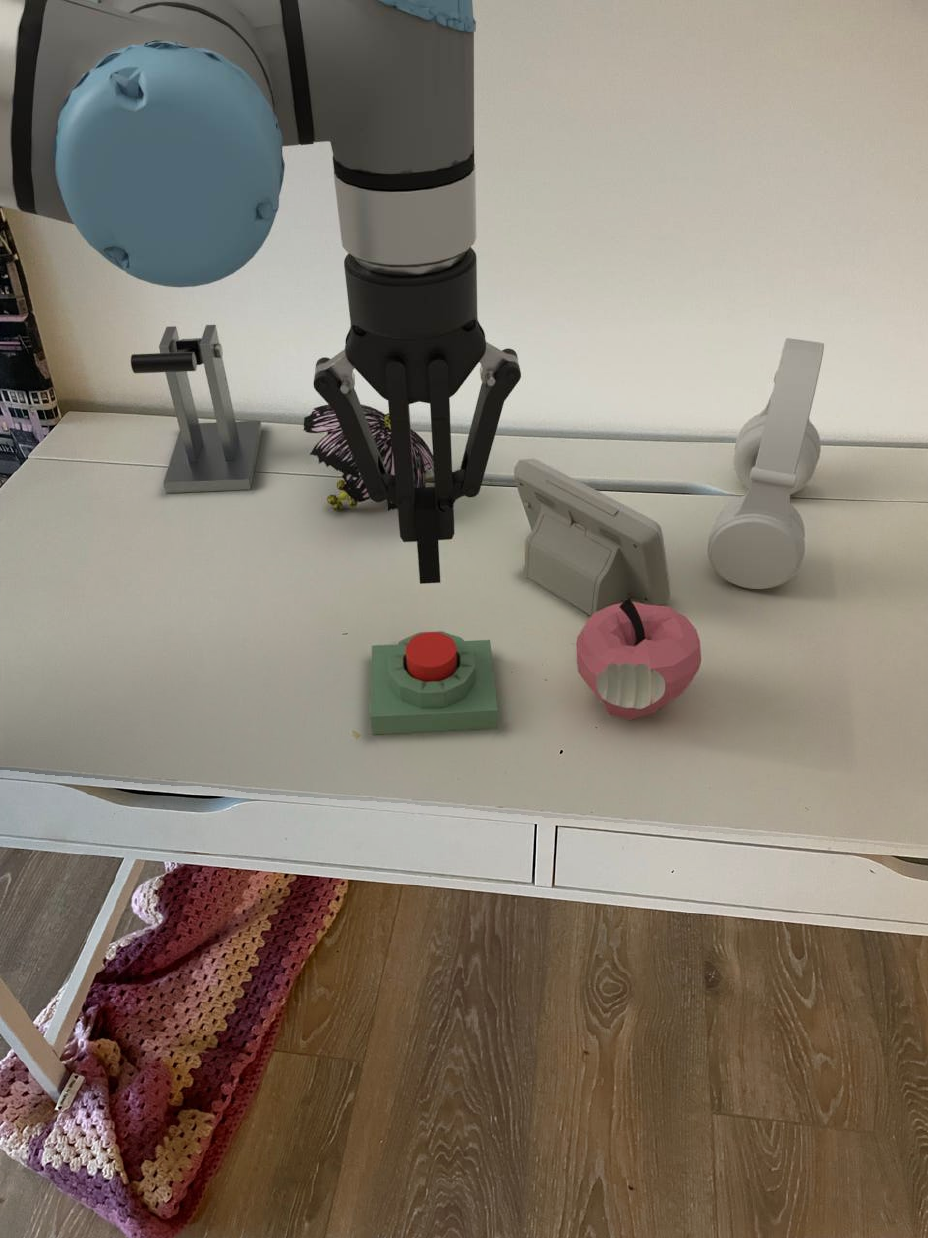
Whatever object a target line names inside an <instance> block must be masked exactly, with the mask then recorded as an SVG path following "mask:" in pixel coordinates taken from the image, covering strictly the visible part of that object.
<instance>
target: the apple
mask: <svg viewBox="0 0 928 1238" xmlns="http://www.w3.org/2000/svg"><path fill="white" fill-rule="evenodd" d="M575 647H576V651H575V652H576V666H577V672H578V673H579V675H580V677H581V678H582V679H583V681H584V682H585V684H586V685H587V686H588V687H589V688H590V690H591V691H592V692H593V693H594V695H595V696H596V697H597V698H598V700H599V701H600V703H601V704H602V705H603V707H604V708H605V710H606V712H607V713H608V715H610V716H612V717H613V716H614V717H616V718H620V719H624V720H629V721H631V720H633V719H636V718H640V717H642V716H649V715H653V714H654V713H656V712H657V711H659V710H660V709H661V708H662V707H665V705H667V704H669V703H671V702H673V701H675V700H676V699H677V698H678V697H680V696H681V695H682V694H684V692H685V691H686V690H687V689H688V687H689V686H690V684H691V682H693V680H694V678H695V677H696V675H697V673H698V672H699V670H700V666H701V664H702V652H701V651H702V650H701V641H700V637H699V634H698V631H697V629H696V627H695V626H694V625H693V623H692V622H691V621H690V620H689V618H688V617H687V616H686V615H684V614H682V613H680V612H679V611H676V610H675V609H673V608H672V607H670V606H666V605H658V606H657V605H648V604H646V603H644V602H637V601H632V599H631V598H630V597H626V598H625V599H624V601H621V602H619V603H618V604H615V605H611V606H608V607H606V608H604V609H602V610H600V611H598V612H596V613H594V614H593V615H592V616H590V617H589V619H588V620H587V622H586V623H585V625H584V626H583V628H582V629H581V631H580V632H579V634H578V635H577V637H576V643H575Z"/></svg>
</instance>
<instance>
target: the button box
mask: <svg viewBox="0 0 928 1238" xmlns="http://www.w3.org/2000/svg"><path fill="white" fill-rule="evenodd" d="M426 632H427V631H420V632H417V633H414V634H413V635H410V636H407V637H406V638H403V639H401V640H400V641H399V642H398V643H396V644H375V645H371V667H370V668H371V671H370V706H369V708H370V709H369V711H370V712H369V719H370V727H371V734H372V735H373V736H375V735H396V734H412V733H413V734H414V733H416V734H417V733H431V732H432V733H433V732H452V731H470V730H471V731H473V730H488V729H489V730H490V729H498V727H499V707H498V698H497V690H496V680H495V679H496V678H495V672H494V671H495V669H494V662H493V654H492V653H493V652H492V643H491V642H492V641H491V639H479V640H478V639H477V640H476V639H475V640H465V639H464V638H462V637H460V636H458V635H454V634H451V633H448V632H445V631H441V630H438V631H435V632H439V633H443V634H445V635H447V636H449V637H450V638H451V639H452V640H453V641H454V642H455V644H456V651H457V666H456V669H455V671H454V673H453V674H452V675H451V676H449V677H448V678H446V679H444V680H442V681H434V682H424V681H421V680H418V679H416V678H414V677H413V676H412V675H411V674H410V673H409V671H408V668H407V659H406V647H407V644H408V643H409V641H410V640H411V639H412V638H413V637H415V636H417V635H419V634H422V633H426Z"/></svg>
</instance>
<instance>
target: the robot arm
mask: <svg viewBox="0 0 928 1238" xmlns="http://www.w3.org/2000/svg"><path fill="white" fill-rule="evenodd" d="M475 32H477V21H476V19H475V17H474V5H473V0H0V207H2V208H6V209H9V210H15V211H19V212H23V213H28V214H31V215H37V216H40V217H43V218H44V217H45V218H47V219H51V220H56V221H59V222H64V223H67V224H70V225H74V226H75V227H76V229H77V231H78V232H79V233H80V235H81V236H82V237H83V238H84V240H85V241H86V242H87V244H88V245H89V247H91V248H93V249H94V250H95V251H96V252H97V253H99V254H100V255H101V256H102V257H103V258H104V259H106V260H107V261H108V262H109V263H111V264H112V265H114V266H115V267H117V268H119V269H120V270H122V271H124V272H125V273H126V274H128V275H129V276H132V277H133V278H135V279H138V280H140V281H144V282H146V283H149V284H152V285H158V286H162V287H166V288H167V287H168V288H191V287H192V288H194V287H199V286H204V285H205V286H206V285H209V284H212V283H216V282H218V281H221V280H224V279H225V278H227V277H229V276H231V275H233V274H235V273H236V272H237V271H239V270H240V269H242V268H243V267H244V266H246V265H247V264H248V263H249V262H250V261H251V260H252V259H253V258H254V257H255V256H256V254H257V253H258V252H259V250H260V249H261V248H262V247H263V245H264V243H265V241H266V240H267V238H268V236H269V235H270V233H271V230H272V227H273V225H274V223H275V219H276V215H277V213H278V211H279V207H280V195H281V192H282V187H283V183H284V175H285V170H286V169H285V168H286V163H285V160H284V156H283V147H290V146H293V147H294V146H307V145H314V144H315V143H324V142H325V143H326V142H329V143H330V147H331V152H332V166H333V179H334V187H335V197H336V205H337V213H338V214H337V215H338V223H339V231H340V240H341V245H342V248H343V250H345V252H347V254H346V256H345V258H344V262H343V267H344V275H345V285H346V294H347V304H348V311H349V312H348V313H349V321H350V327H349V330H348V332H347V334H346V337H345V346H344V349H343V350H341V351H339V352H338V353H337V354H336V355H334V356H333V357H331V358H329V357H326V356H325V357H321V358H318V360H317V361H316V363H315V369H314V377H313V388H314V390H315V391H316V393H317V394H318V395H319V396H320V397H321V398H322V399H323V400H324V401H325V402H326V404H327V405H330V406H331V408H332V409H333V410H334V412H335V414H336V417H337V419H338V421H339V424H340V426H341V429H342V431H343V434H344V436H345V438H346V441H347V443H348V446H349V448H350V451H351V453H352V455H353V458H354V460H355V463H356V465H357V468H358V470H359V472H360V475H361V477H362V480H363V482H364V485H365V487H366V490H367V492H368V494H369V497H370V500H371V501H372V502H375V503H382V502H384V501H385V502H387V501H390V502H393V503H394V504H395V505H396V506H397V508H398V509H397V516H398V527H399V537H400V539H401V540H402V542H403V543H415V542H416V546H417V547H416V548H417V561H418V576H419V584H420V585H422V584H423V585H425V584H441V566H440V546H439V541H449V540H453V538H454V535H455V512H454V509H455V508H454V507H455V503H456V501H457V500H458V499H461V498H462V497H466V498H475V497H477V496H478V495H479V494H480V491H481V489H482V484H483V480H484V477H485V473H486V469H487V466H488V463H489V458H490V455H491V453H492V452H491V451H492V448H493V445H494V441H495V436H496V433H497V429H498V426H499V422H500V418H501V415H502V411H503V408H504V405H505V404H504V403H505V401H506V400H507V398H508V397H509V396H510V394H511V393H512V391H513V390H514V389H515V388H516V386H517V384H518V383H519V382H520V380H521V379H522V373H521V371H522V370H521V368H520V362H519V357H518V353H517V352H516V351H515V349H513V348H510V347H509V348H504V349H502V350H501V349H500V348H498V347H496V346H494V345H493V344H491V343H489V342H487V340H486V333H485V330H484V328H483V327H482V325H481V324H480V321H479V319H478V318H479V317H478V269H477V267H478V266H477V265H478V263H477V260H478V259H477V253H476V251H475V250H474V249H473V248H472V246H473V245H474V244H475V242H476V240H477V186H476V184H477V183H476V180H477V178H476V176H477V175H476V163H475ZM479 363H480V367H479V375H480V376H479V377H480V381H481V385H480V388H479V393H478V396H477V401H476V404H475V408H474V412H473V416H472V420H471V424H470V428H469V432H468V436H467V440H466V444H465V448H464V452H463V455H462V460H461V464H460V467H459V469H456V470H454V471H453V457H452V433H451V429H452V428H451V403H450V398H452V397H453V396H455V394H457V392H458V391H459V389H461V387H462V386H463V384H464V383H465V382H466V380H467V379H468V378H469V377H470V375H471V374H472V373H473V371H474V369H475V368H476V367H477V366H478V364H479ZM354 370H356V371H357V372H358V374H359V375H361V377H362V378H363V379H364V380H365V381H366V382H367V383H368V384H369V385H370V386H371V387H372V388H373V389H374V390H375V392H376V393H377V394H378V395H379V396H380V397H381V398H383V399H384V400H386V401H387V404H388V405H387V406H388V413H389V418H390V426H391V438H392V450H393V462H394V474H395V475H392V474H388V473H387V471H386V469H385V466H384V463H383V461H382V458H381V456H380V453H379V451H378V448H377V445H376V443H375V440H374V438H373V435H372V432H371V430H370V427H369V425H368V422H367V420H366V417H365V414H364V412H363V409H362V407H361V405H362V403H361V401H360V400H359V396H358V394H357V392H356V389H355V385H356V374H355V372H354ZM416 403H425V404H429V405H430V406H429V408H430V409H429V411H430V426H431V427H430V428H431V443H432V454H433V464H434V473H433V478H434V486H425V487H418V488H414V471H413V456H412V441H411V428H412V426H411V415H410V413H411V412H410V405H413V404H416Z"/></svg>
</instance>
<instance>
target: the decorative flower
mask: <svg viewBox="0 0 928 1238" xmlns="http://www.w3.org/2000/svg"><path fill="white" fill-rule="evenodd" d="M361 407H362V409H363V412H364V414H365V417H366V420H367V422H368V425H369V427H370V430H371V432H372V435H373V438H374V440H375V443H376V445H377V448H378V451H379V453H380V456H381V458H382V461H383V463H384V466H385V469H386V471H387V473H388V474H392V475H395V474H394V462H393V450H392V438H391V426H390V418H389V412H388V413H383V412H382V411H380V410H378V409H377V408H374V407H372V406H369V405H366V404H361ZM303 432H305V433H308V434H321V433H323V434H324V433H326V435H325V436H323V437H322V438H321V439H320V440H319V441H318V442H317V443H316V444H315V445H314V447H313V449H312V450H311V452H310V453H309V456H315V457H317V458H318V459H317V460H318V465H320V464H322V463H323V464H324V465H325V467H326V468H329V467H331V468H333V470H335V471H337V472H338V471H339V472H340V473H342V474H343V475H341V477H342V479H343V480H342V479H341V480H340V479H338V481H337V482H336V489H337V490H339V491H341V493H340V494H339V495H338V496H337V495H336V494H329V495H328V496H327V498H326V501H327V503H328V504H329V505H331V506H332V509H333V510H335V511H341V509H343V505H344V504H343V502H342V501H345V500H346V499H347V500H346V502H347V505H348V507H351V508H354V507H357V505H358V503H363V502H365V501H368V500H371V498H370V497H369V494H368V492H367V490H366V487H365V485H364V482H363V480H362V477H361V475H360V472H359V470H358V468H357V465H356V463H355V460H354V458H353V455H352V453H351V451H350V448H349V446H348V443H347V441H346V438H345V436H344V434H343V431H342V429H341V426H340V424H339V421H338V419H337V417H336V414H335V412H334V410H333V409H332V408H331V406H330V405H329V404H323V405H319V406H316V407H314V408H312V411H311V413H310V414H309V415H307V416H304V417H303ZM411 441H412V456H413V471H414V488H418V487H426V486H427V485H426V484H427V482H426V481H427V478H426V474H427V471H428V470H429V471H430V470H432V473H433V474H434V464H433V452H432V451H431V449H430V447H429V446H428V444H427V443H426V441H425V440H424V439H423V438H422V437H421V436H420V435H419V434H418V433H417V432H416V431H414V430H413V429H411ZM386 505H387V506H386V508H387V512H389V511H392V510H395V509H396V510H398V508H397V506H396V505H395V504H394V503H393V502H390V501H387V500H386Z"/></svg>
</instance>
